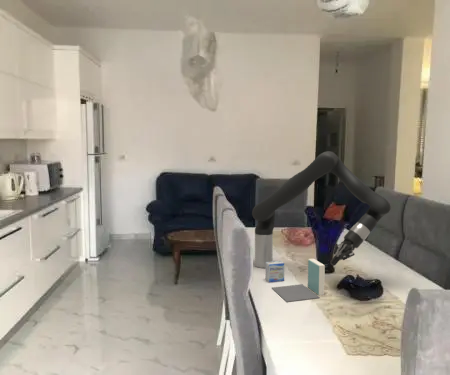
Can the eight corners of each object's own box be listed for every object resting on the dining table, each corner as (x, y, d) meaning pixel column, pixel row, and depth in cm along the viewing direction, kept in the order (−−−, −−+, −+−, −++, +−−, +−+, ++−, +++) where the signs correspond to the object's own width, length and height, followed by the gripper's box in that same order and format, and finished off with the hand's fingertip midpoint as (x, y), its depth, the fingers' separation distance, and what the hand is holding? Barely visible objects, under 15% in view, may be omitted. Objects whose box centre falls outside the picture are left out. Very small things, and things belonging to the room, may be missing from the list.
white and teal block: (307, 287, 185) (308, 259, 183) (312, 286, 186) (313, 258, 184) (318, 295, 176) (319, 265, 174) (323, 294, 176) (324, 265, 175)
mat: (271, 288, 184) (271, 287, 184) (302, 285, 188) (302, 284, 188) (286, 302, 168) (286, 301, 168) (319, 298, 172) (319, 297, 172)
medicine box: (268, 282, 191) (268, 264, 190) (265, 279, 195) (265, 261, 194) (284, 281, 193) (284, 263, 192) (280, 277, 197) (280, 260, 196)
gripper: (343, 226, 189) (318, 254, 187) (360, 233, 176) (334, 263, 174) (353, 237, 191) (329, 265, 189) (371, 244, 178) (345, 274, 176)
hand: (331, 264), depth 181 cm, fingers closed
